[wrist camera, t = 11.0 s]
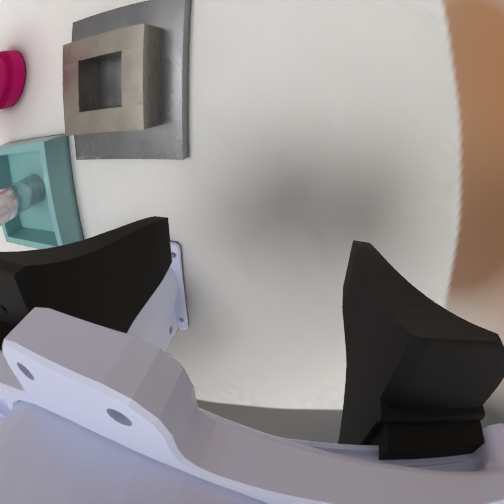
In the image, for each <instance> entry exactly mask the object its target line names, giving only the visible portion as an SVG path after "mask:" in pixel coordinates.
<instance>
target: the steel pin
mask: <svg viewBox="0 0 504 504" xmlns="http://www.w3.org/2000/svg"><path fill="white" fill-rule="evenodd" d="M44 197H45V187H44V184H43V182H42V180H41V178H40V177H39V176H38V175H36V174H32V175H29V176H27V177H25V178H23V179H21V180H19V181H17V182H15V183H13V184H11V185H9V186H7V187H5V188H3V189H1V190H0V226H1V225H3V224H4V223H6V222H8V221H9V220H11V219H12V218H14V217H16V216H17V215H19V214H21V213H22V212H24V211H26V210H28V209H29V208H31V207H33V206H35V205H36V204H38V203H40V202H42V201H43V199H44Z"/></svg>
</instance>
